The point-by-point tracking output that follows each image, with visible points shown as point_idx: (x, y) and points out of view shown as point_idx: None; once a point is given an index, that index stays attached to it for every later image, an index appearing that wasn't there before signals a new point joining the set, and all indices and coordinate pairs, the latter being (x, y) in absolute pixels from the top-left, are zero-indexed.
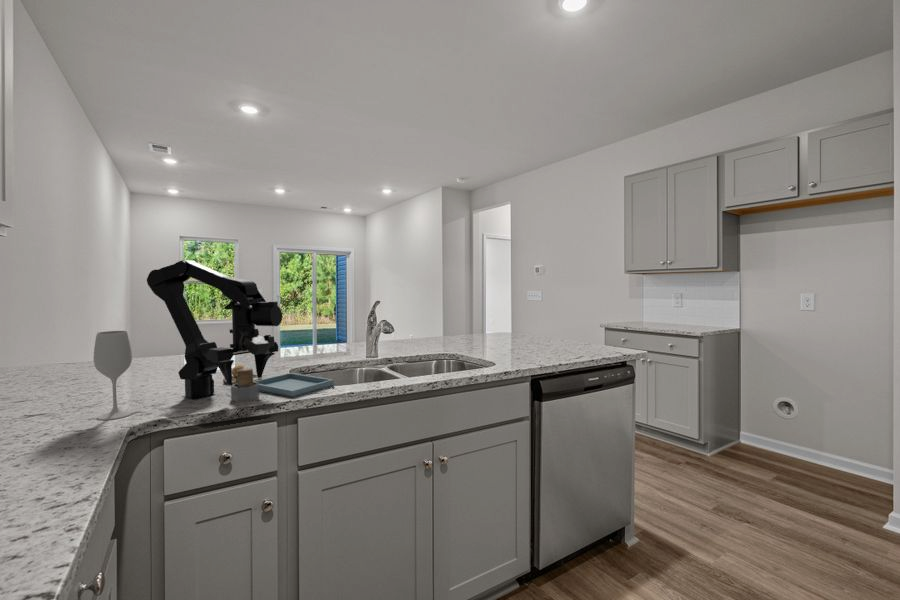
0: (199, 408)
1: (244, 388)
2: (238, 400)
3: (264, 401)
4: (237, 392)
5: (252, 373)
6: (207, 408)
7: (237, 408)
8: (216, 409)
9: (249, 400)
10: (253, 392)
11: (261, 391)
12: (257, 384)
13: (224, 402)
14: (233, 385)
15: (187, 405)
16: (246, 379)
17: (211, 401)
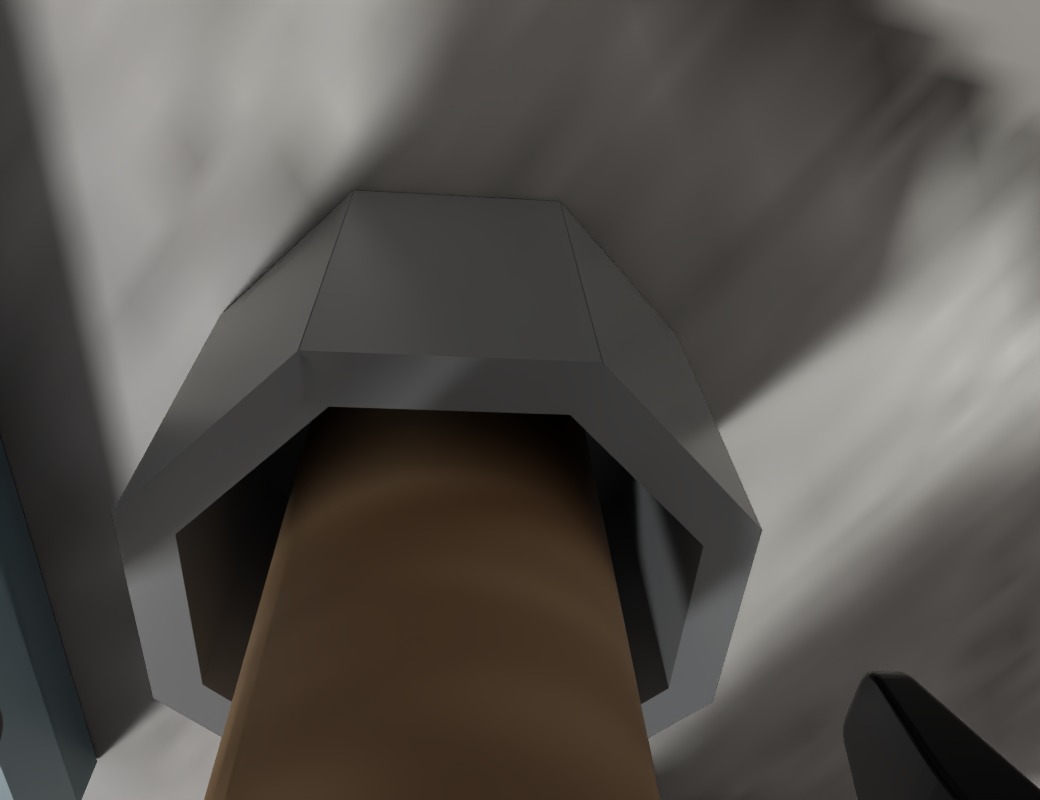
0: (1017, 587)
1: (656, 411)
2: (683, 354)
3: (302, 20)
4: (727, 458)
5: (271, 772)
6: (1000, 511)
7: (906, 101)
8: (1027, 368)
9: (548, 219)
10: (446, 274)
11: (7, 544)
12: (268, 387)
13: None
14: None
15: None
16: (542, 625)
17: (701, 711)
